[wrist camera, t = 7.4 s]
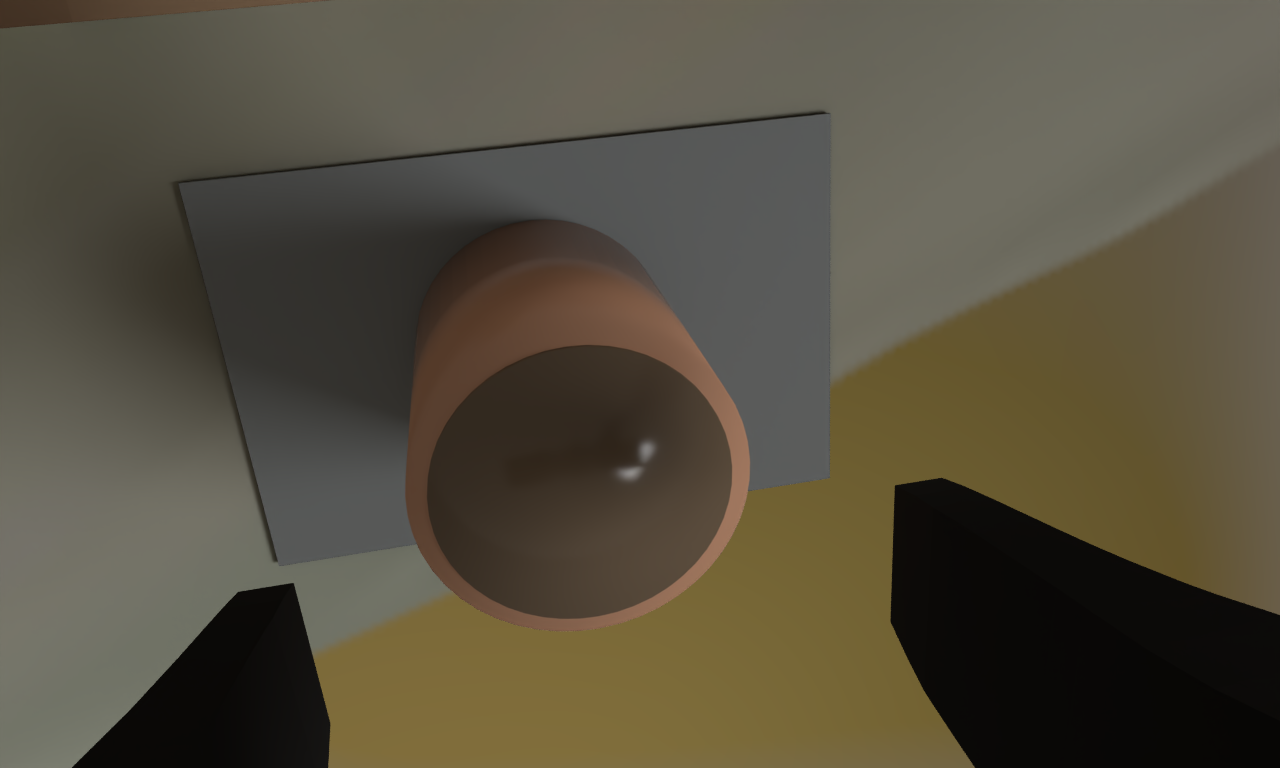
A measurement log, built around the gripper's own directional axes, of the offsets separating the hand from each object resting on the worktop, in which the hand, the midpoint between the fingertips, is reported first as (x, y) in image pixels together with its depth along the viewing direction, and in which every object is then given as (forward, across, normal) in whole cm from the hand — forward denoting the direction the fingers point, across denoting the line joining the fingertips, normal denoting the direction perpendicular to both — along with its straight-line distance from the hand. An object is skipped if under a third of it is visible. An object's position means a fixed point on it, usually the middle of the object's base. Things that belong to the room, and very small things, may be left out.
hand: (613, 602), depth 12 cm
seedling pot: (+9, 0, 0) cm, 9 cm away
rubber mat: (+9, 0, 0) cm, 9 cm away
